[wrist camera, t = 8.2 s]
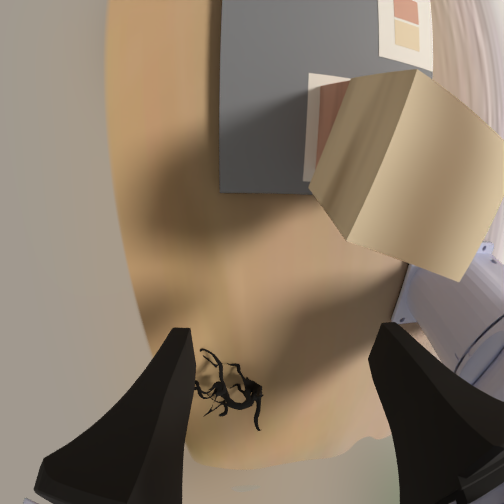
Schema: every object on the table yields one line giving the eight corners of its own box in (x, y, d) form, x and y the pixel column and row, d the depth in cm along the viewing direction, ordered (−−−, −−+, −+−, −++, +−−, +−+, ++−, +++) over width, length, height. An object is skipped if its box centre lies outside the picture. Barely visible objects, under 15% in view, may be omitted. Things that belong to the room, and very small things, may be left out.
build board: (422, -13, 11) (428, -16, 10) (412, 198, 18) (418, 202, 18) (226, -49, 10) (225, -55, 10) (220, 189, 18) (219, 193, 17)
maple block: (441, 131, 11) (518, 156, 6) (400, 224, 13) (459, 282, 8) (351, 78, 10) (417, 69, 5) (308, 187, 12) (346, 241, 8)
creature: (192, 387, 29) (267, 401, 27) (175, 427, 24) (258, 446, 23) (181, 335, 25) (272, 351, 24) (157, 381, 20) (261, 403, 19)
